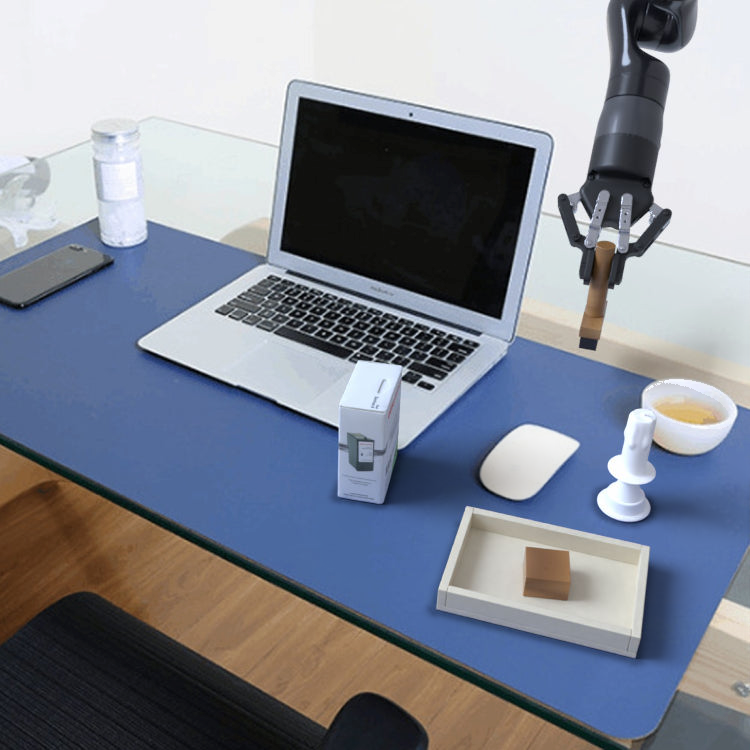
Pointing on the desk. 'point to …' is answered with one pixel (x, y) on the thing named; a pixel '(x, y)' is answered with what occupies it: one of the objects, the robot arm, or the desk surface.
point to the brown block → (546, 573)
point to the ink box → (369, 431)
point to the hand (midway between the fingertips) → (598, 284)
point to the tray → (540, 615)
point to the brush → (597, 296)
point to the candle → (631, 471)
